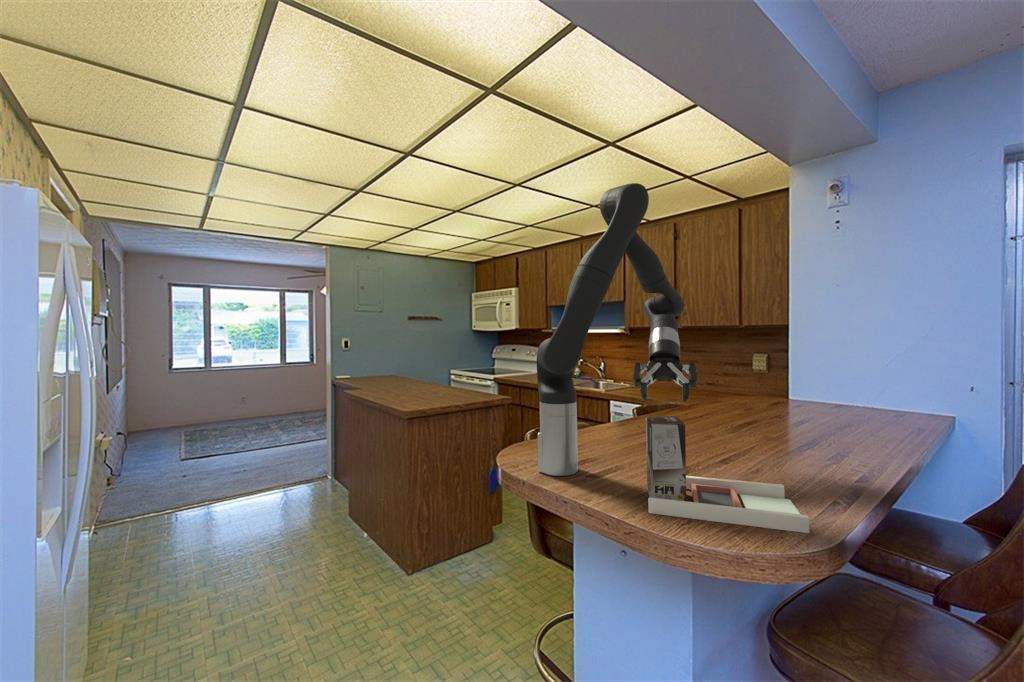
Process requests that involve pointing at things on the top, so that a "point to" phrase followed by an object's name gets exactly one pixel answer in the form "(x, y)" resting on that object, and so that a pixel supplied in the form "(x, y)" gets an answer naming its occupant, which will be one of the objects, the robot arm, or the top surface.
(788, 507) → the pad
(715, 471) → the top surface
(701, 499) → the frame
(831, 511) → the top surface
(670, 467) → the coffee box
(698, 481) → the walled lane
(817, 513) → the top surface
